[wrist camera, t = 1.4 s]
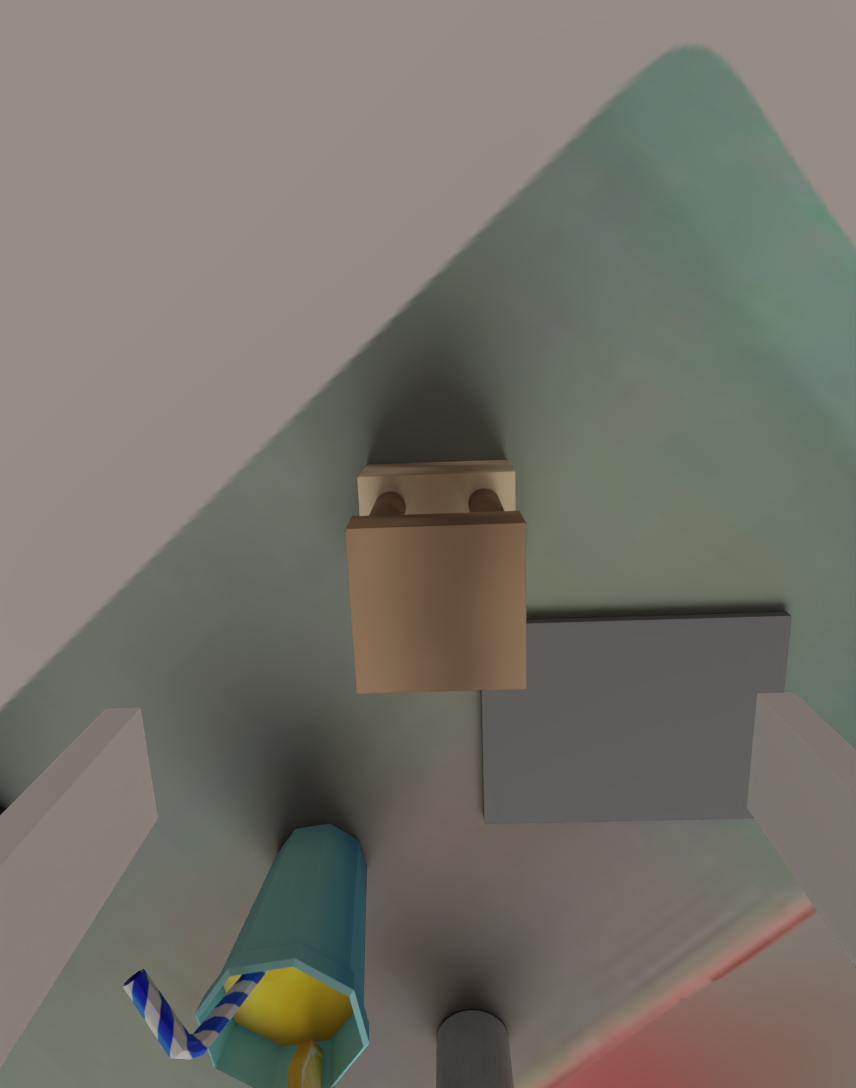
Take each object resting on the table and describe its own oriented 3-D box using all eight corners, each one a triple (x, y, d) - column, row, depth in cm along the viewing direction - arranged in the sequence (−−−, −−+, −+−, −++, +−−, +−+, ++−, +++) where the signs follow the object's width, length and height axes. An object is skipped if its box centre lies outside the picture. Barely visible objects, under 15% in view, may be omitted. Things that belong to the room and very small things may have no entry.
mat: (483, 817, 39) (484, 824, 39) (479, 620, 36) (480, 624, 36) (766, 811, 39) (771, 817, 38) (785, 611, 36) (791, 615, 35)
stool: (376, 614, 32) (356, 693, 24) (369, 487, 31) (345, 528, 23) (505, 610, 32) (526, 688, 24) (503, 483, 30) (525, 523, 23)
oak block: (374, 597, 36) (366, 624, 32) (366, 464, 34) (357, 477, 30) (508, 593, 36) (516, 620, 32) (506, 459, 34) (515, 471, 30)
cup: (186, 795, 39) (37, 1046, 25) (294, 728, 38) (205, 950, 24) (329, 961, 42) (271, 1275, 28) (434, 904, 41) (431, 1200, 26)
